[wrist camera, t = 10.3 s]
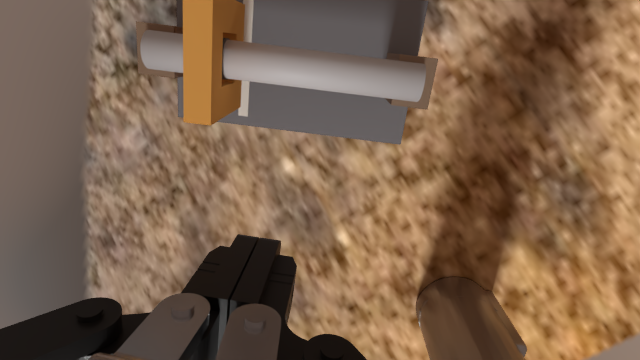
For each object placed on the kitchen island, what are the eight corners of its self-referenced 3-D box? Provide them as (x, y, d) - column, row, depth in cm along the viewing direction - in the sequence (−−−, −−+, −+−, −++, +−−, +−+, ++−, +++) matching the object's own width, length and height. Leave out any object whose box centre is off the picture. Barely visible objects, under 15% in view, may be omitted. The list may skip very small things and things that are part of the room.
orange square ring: (244, 4, 33) (212, -11, 24) (240, 107, 36) (210, 125, 27) (222, 1, 33) (182, -15, 24) (220, 104, 36) (183, 122, 27)
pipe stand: (423, 3, 37) (459, -15, 26) (397, 140, 42) (418, 172, 31) (184, -26, 37) (120, -57, 26) (185, 113, 42) (131, 137, 31)
